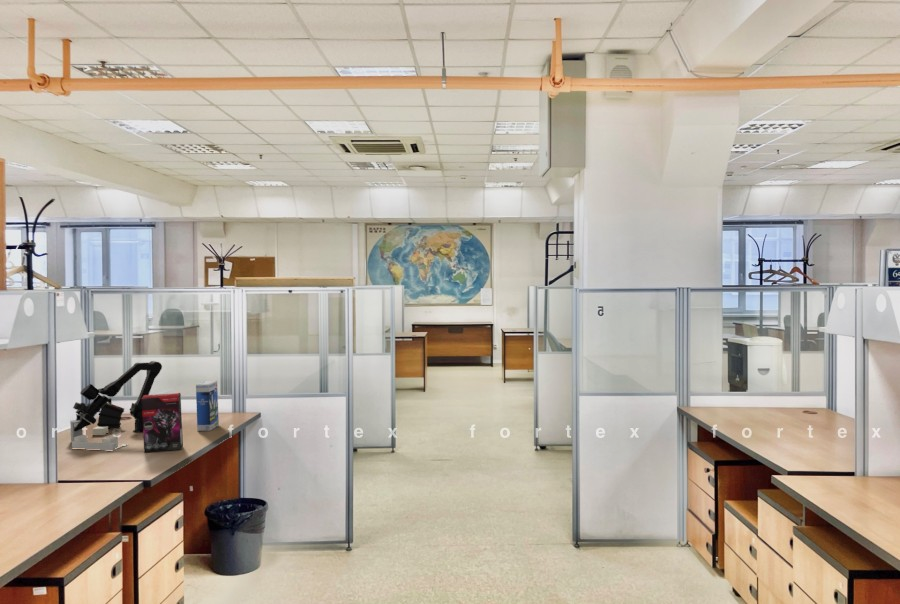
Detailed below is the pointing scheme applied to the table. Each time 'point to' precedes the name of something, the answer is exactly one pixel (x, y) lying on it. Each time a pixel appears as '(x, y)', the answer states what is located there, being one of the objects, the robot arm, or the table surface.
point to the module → (73, 426)
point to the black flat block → (110, 416)
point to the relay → (100, 430)
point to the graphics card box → (162, 422)
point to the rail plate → (106, 444)
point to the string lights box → (207, 405)
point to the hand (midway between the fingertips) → (73, 429)
